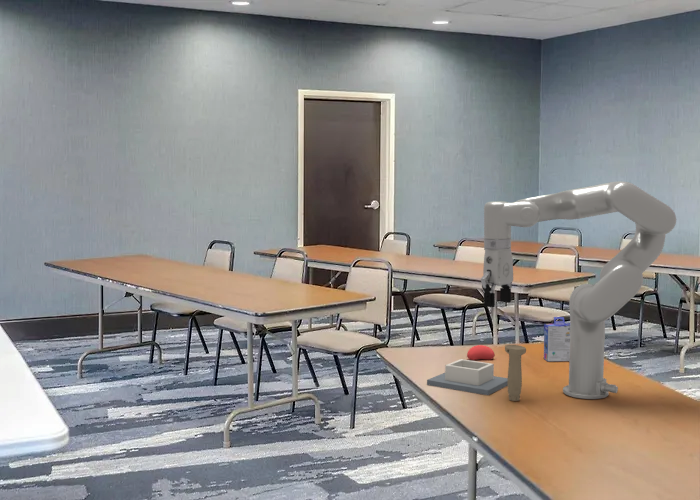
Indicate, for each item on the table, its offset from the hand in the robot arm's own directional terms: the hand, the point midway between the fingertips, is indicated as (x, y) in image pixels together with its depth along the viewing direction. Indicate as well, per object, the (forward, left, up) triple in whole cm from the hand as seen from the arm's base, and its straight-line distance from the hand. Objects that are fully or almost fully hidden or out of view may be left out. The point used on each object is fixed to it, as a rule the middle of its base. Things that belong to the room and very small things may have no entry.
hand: (497, 304), depth 234 cm
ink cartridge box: (0, -50, -26) cm, 57 cm away
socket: (+10, -3, -26) cm, 28 cm away
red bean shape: (+22, -35, -26) cm, 49 cm away
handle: (-8, +5, -26) cm, 27 cm away
